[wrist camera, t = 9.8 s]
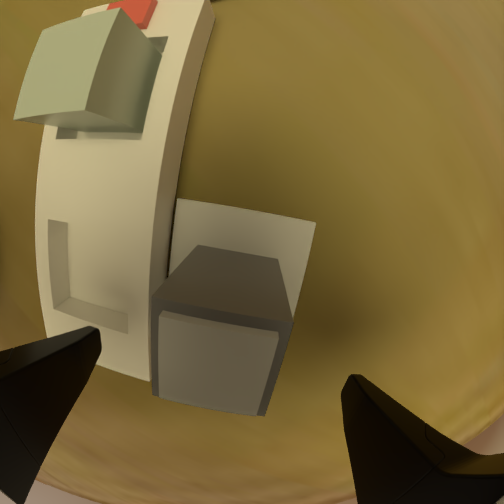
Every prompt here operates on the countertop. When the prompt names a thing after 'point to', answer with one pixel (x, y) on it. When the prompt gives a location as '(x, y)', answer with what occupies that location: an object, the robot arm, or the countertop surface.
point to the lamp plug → (90, 75)
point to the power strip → (119, 198)
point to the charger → (220, 331)
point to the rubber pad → (244, 237)
